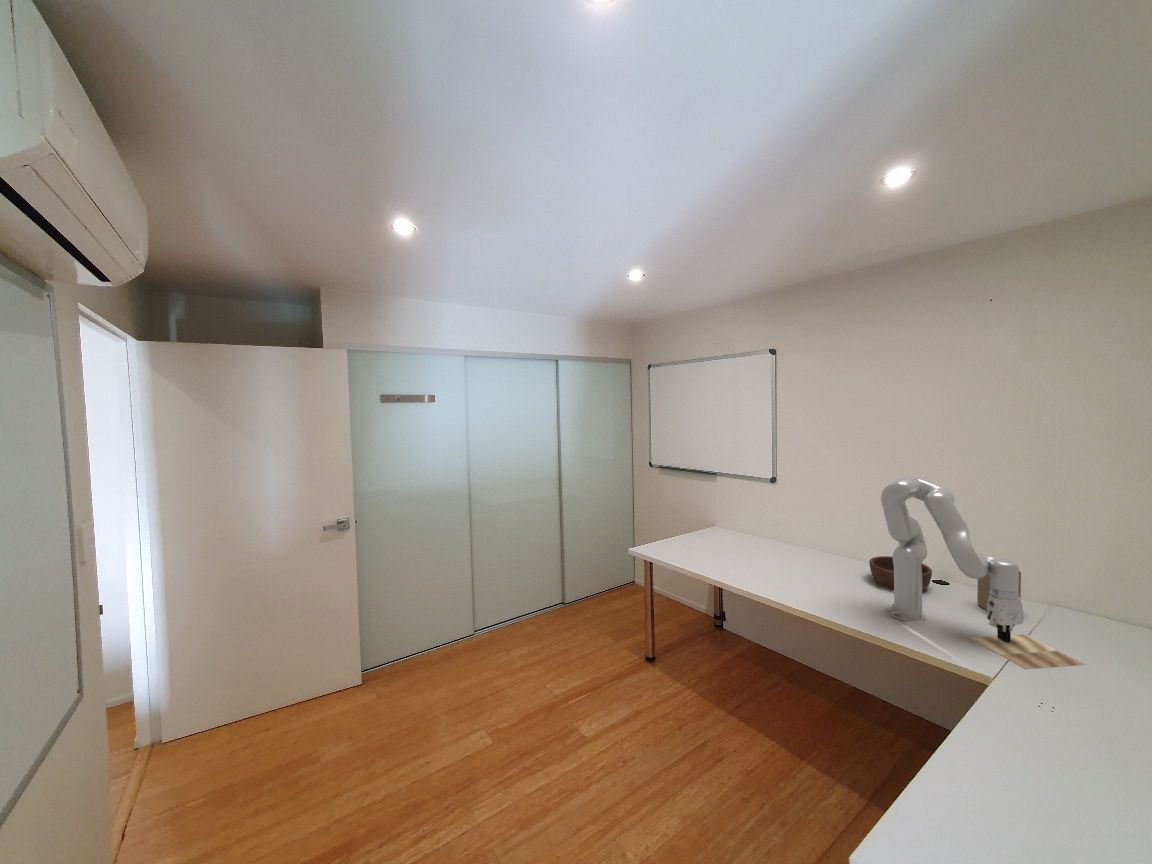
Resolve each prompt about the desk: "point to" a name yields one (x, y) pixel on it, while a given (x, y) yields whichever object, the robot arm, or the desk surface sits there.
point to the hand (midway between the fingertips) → (1003, 640)
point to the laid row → (1042, 660)
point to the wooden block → (985, 588)
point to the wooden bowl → (885, 572)
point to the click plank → (1013, 644)
